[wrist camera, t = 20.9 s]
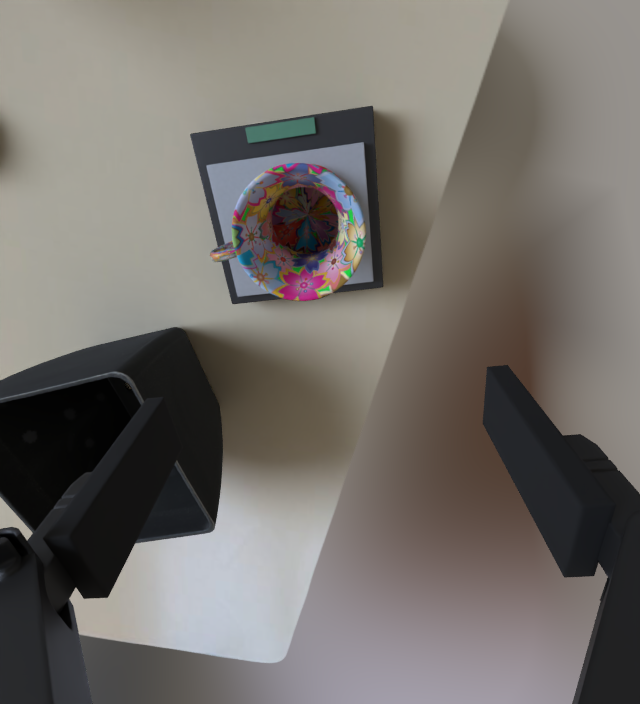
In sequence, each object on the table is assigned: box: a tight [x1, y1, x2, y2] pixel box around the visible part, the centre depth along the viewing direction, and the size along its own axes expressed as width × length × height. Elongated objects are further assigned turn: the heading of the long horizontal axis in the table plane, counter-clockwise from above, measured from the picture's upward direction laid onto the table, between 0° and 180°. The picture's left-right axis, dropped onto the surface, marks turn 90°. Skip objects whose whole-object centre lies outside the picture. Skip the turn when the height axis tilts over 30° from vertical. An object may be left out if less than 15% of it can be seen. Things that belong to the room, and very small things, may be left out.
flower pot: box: [0, 327, 223, 543], centre depth 43 cm, size 19×19×17 cm
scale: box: [190, 106, 383, 304], centre depth 38 cm, size 16×16×4 cm
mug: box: [210, 163, 366, 301], centre depth 32 cm, size 12×9×11 cm
